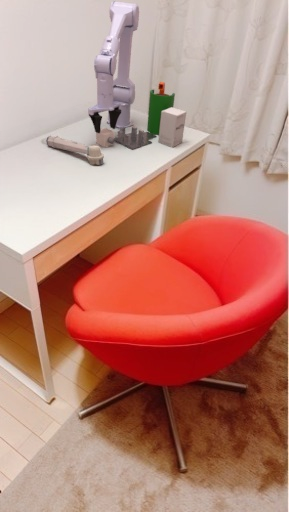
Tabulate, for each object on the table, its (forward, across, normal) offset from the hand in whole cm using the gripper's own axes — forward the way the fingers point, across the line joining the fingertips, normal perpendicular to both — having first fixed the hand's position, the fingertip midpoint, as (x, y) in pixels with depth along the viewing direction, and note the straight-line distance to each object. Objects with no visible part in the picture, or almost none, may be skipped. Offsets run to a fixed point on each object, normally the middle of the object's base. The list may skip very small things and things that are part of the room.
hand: (105, 130), depth 136 cm
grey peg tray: (+5, +13, -5) cm, 15 cm away
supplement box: (+6, +22, -15) cm, 27 cm away
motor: (+5, +27, -4) cm, 28 cm away
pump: (+5, 0, 0) cm, 5 cm away
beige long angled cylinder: (+6, -15, -1) cm, 16 cm away
